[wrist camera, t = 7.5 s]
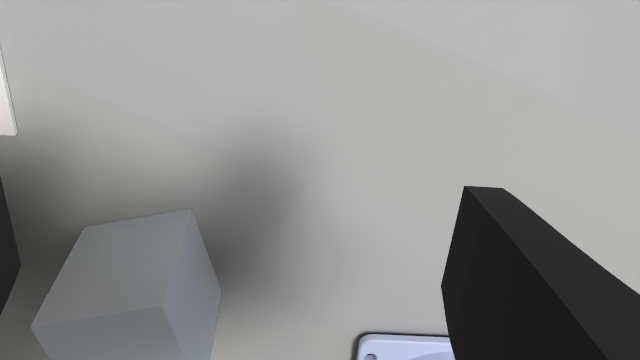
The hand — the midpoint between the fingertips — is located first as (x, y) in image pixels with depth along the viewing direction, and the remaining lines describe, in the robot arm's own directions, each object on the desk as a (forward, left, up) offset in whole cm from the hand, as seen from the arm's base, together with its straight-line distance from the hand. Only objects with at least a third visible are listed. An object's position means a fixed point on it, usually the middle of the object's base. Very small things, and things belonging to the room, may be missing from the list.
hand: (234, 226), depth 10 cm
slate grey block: (-9, +4, -10) cm, 14 cm away
